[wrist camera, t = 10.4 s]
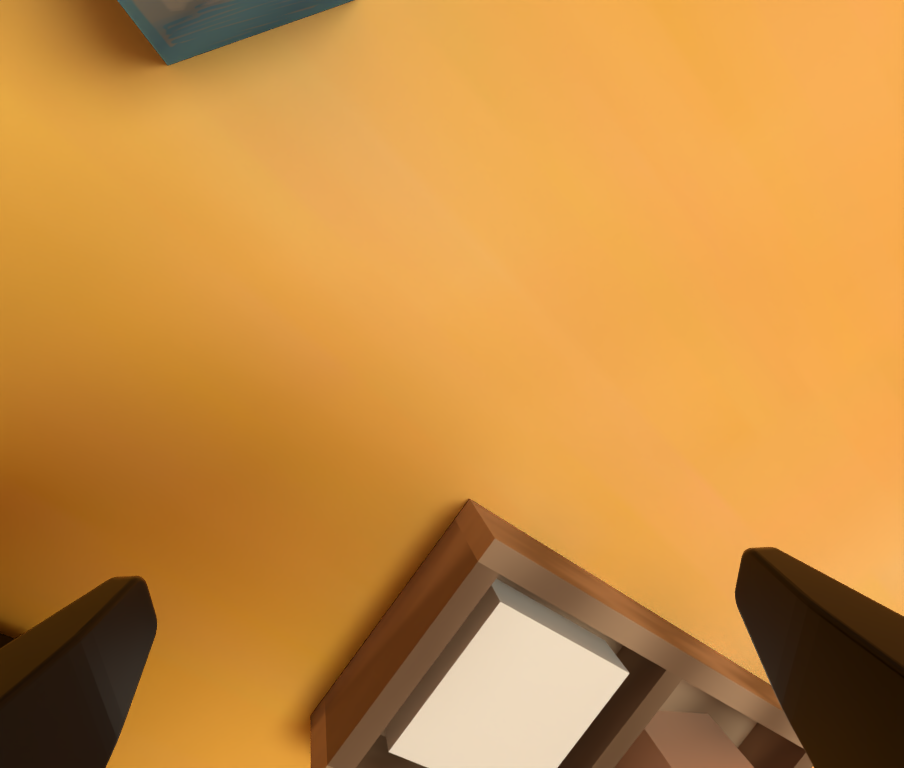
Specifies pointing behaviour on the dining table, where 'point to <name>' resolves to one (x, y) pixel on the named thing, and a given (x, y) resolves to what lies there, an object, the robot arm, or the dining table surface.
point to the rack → (577, 599)
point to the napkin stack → (507, 689)
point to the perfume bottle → (213, 21)
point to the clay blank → (683, 744)
